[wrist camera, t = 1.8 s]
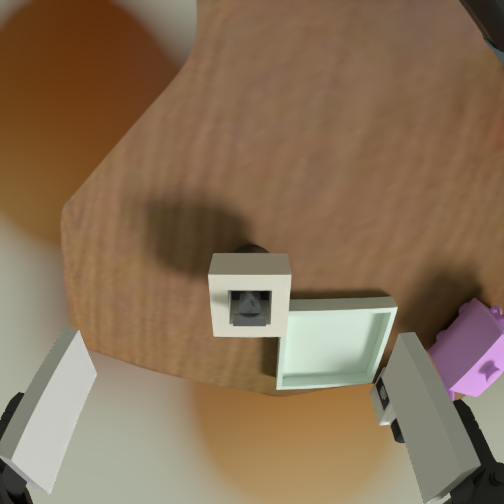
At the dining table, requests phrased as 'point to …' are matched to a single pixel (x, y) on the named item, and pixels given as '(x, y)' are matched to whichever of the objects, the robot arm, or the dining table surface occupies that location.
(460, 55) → the dining table surface
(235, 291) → the dark grey stemmed piece
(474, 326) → the teapot
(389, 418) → the container
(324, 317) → the tray
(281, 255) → the cream square-holed block
